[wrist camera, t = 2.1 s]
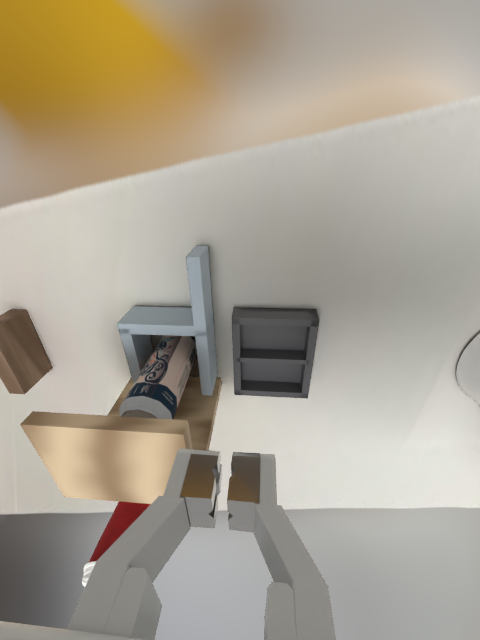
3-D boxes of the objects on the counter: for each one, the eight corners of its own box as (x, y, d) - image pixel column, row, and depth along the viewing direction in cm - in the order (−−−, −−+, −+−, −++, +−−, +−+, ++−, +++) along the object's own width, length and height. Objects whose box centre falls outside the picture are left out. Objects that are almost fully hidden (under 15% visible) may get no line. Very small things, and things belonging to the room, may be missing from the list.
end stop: (26, 309, 33) (-10, 331, 29) (52, 367, 38) (24, 393, 33) (11, 309, 33) (-28, 331, 29) (38, 367, 38) (9, 393, 33)
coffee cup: (119, 474, 49) (67, 584, 36) (142, 455, 46) (94, 570, 33) (158, 494, 52) (121, 604, 39) (182, 477, 48) (151, 592, 35)
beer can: (173, 321, 32) (130, 396, 22) (206, 344, 33) (179, 425, 23) (153, 346, 34) (104, 425, 24) (184, 366, 36) (151, 450, 25)
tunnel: (217, 323, 32) (183, 434, 19) (221, 384, 36) (196, 508, 23) (119, 320, 33) (20, 424, 20) (135, 380, 37) (64, 497, 24)
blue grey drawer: (207, 245, 27) (199, 257, 24) (217, 372, 35) (212, 395, 32) (119, 245, 28) (98, 256, 24) (148, 369, 36) (135, 391, 32)
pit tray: (315, 309, 30) (319, 320, 28) (305, 384, 35) (307, 398, 33) (234, 307, 31) (231, 317, 28) (236, 381, 36) (234, 394, 34)
